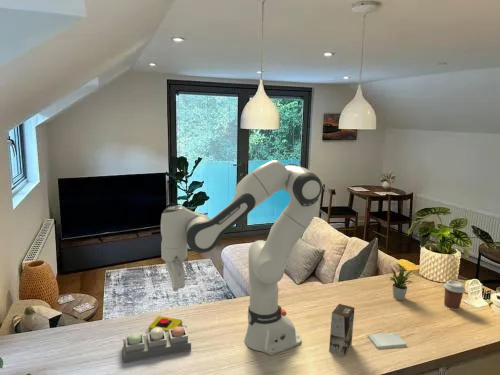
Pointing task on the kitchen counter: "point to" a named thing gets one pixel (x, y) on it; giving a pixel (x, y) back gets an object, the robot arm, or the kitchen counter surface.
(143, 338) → the panel
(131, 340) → the pale green egg
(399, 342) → the hard drive
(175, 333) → the brown egg
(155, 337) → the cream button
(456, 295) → the coffee cup
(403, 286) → the house plant
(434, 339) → the kitchen counter surface
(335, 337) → the coffee box
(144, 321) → the kitchen counter surface
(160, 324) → the emergency button
